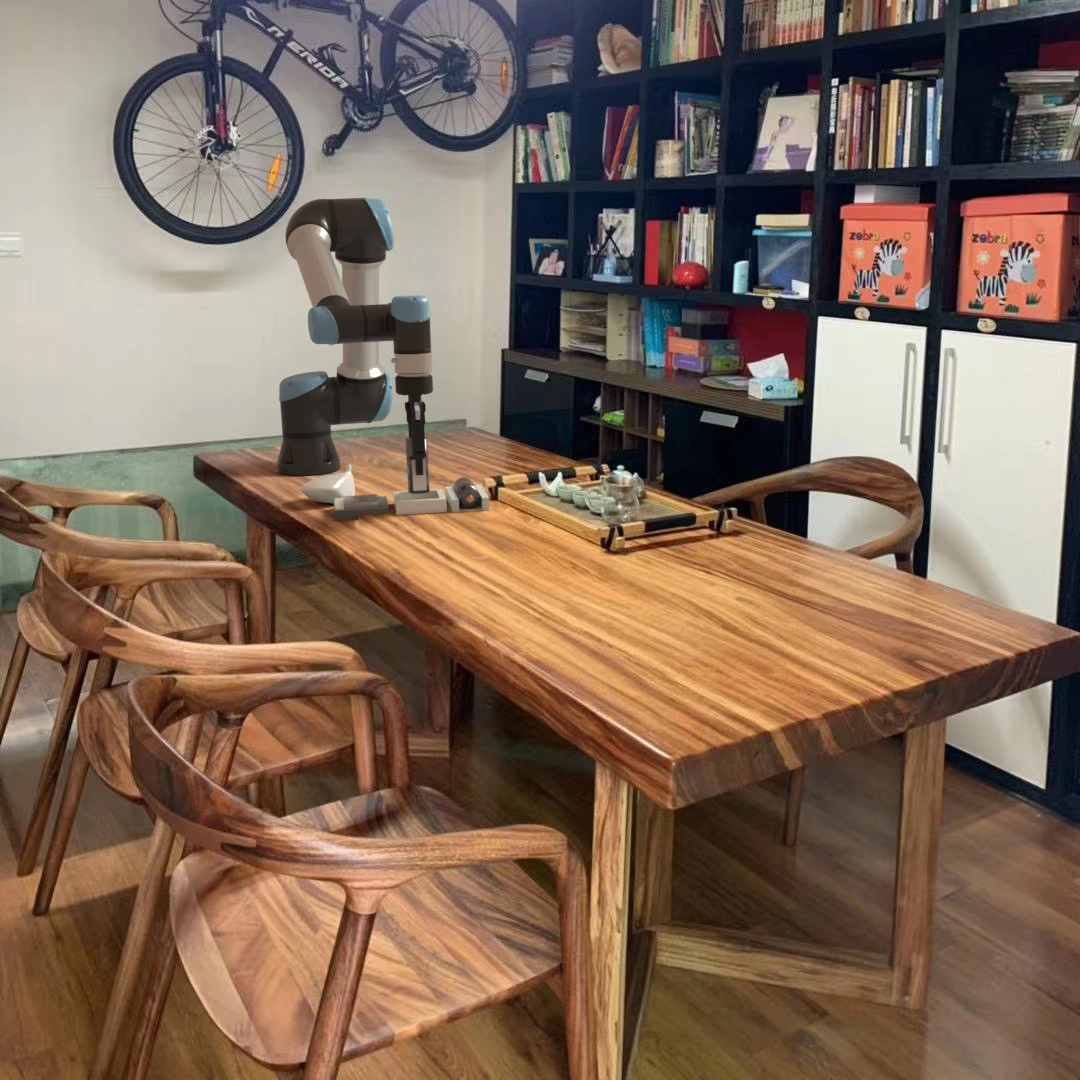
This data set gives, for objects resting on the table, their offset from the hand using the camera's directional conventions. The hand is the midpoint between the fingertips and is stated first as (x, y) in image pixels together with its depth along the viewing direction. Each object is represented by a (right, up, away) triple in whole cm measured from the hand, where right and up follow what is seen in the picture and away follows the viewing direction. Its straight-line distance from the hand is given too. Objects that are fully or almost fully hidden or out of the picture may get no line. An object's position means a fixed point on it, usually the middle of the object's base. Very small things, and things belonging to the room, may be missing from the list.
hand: (419, 487), depth 248 cm
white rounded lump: (-21, -3, +13) cm, 25 cm away
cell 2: (+10, -3, +4) cm, 11 cm away
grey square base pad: (-12, -5, +1) cm, 13 cm away
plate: (-12, -3, +1) cm, 13 cm away
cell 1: (0, -1, 0) cm, 1 cm away
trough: (+10, -4, +4) cm, 11 cm away
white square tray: (0, -5, +1) cm, 5 cm away
